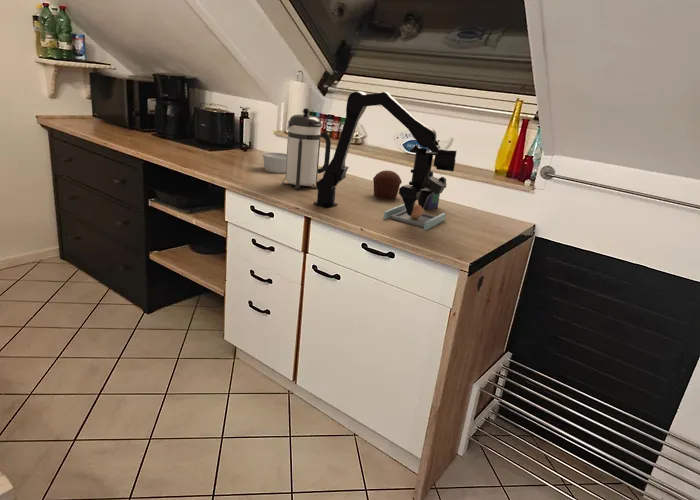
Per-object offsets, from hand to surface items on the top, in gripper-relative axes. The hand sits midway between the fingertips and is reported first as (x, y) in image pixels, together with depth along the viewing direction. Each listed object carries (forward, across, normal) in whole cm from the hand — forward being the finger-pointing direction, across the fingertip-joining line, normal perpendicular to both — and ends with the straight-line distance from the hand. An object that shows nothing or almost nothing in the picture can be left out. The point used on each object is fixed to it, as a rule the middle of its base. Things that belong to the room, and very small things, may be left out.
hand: (415, 212), depth 167 cm
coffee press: (+3, +6, +52) cm, 52 cm away
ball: (0, 0, 0) cm, 0 cm away
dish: (+2, 0, 0) cm, 2 cm away
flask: (+3, +19, +2) cm, 19 cm away
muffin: (+3, +20, +22) cm, 30 cm away
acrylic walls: (+2, 0, 0) cm, 2 cm away
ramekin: (+3, +19, +76) cm, 78 cm away
